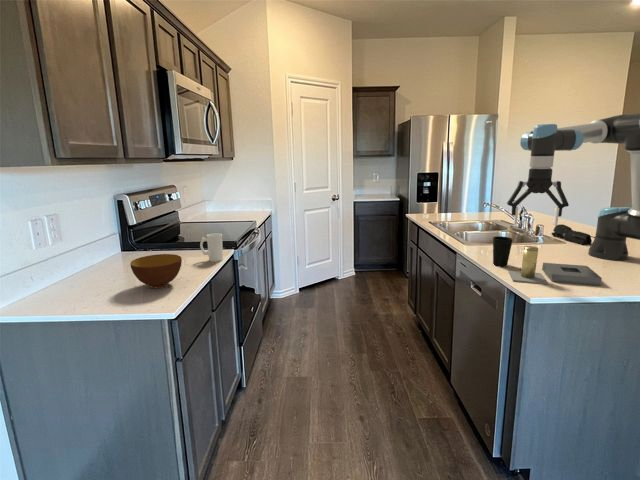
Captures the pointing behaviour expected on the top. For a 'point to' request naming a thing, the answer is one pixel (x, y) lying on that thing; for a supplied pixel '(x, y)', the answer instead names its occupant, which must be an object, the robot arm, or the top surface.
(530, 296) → the top surface
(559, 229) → the black flashlight
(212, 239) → the mug
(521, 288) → the top surface
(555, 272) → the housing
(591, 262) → the top surface
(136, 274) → the bowl
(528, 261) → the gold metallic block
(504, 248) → the cup
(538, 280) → the mat
